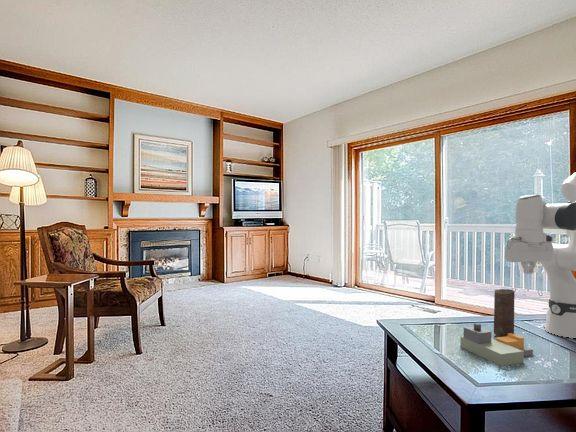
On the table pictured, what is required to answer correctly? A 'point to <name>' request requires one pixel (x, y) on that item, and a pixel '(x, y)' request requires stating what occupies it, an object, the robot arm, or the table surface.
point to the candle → (503, 312)
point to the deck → (491, 347)
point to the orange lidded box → (512, 340)
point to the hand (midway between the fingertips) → (528, 273)
